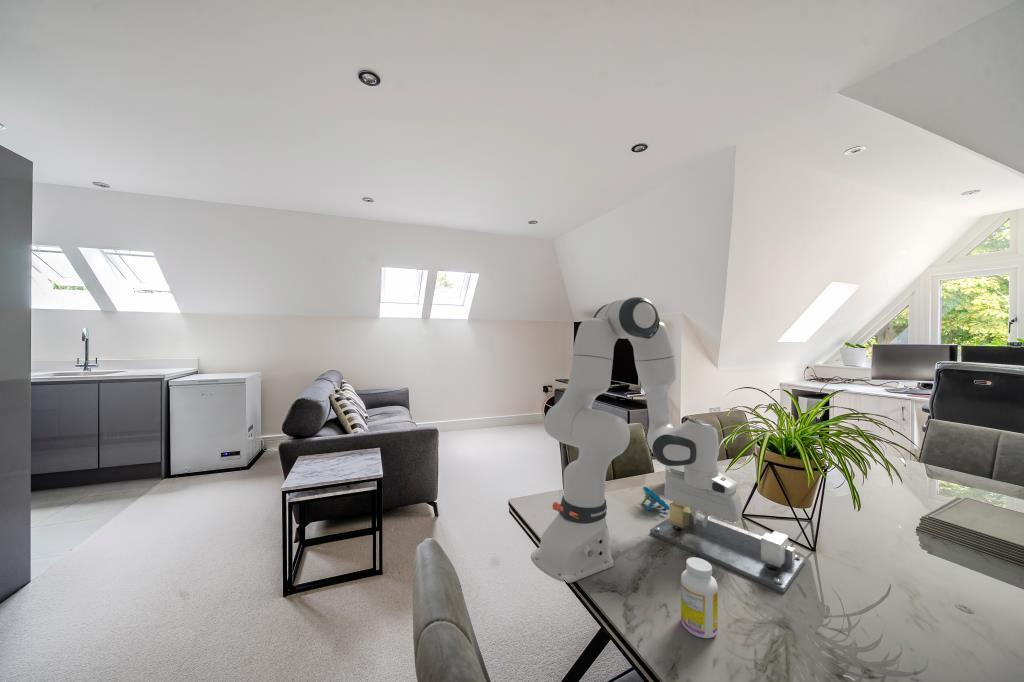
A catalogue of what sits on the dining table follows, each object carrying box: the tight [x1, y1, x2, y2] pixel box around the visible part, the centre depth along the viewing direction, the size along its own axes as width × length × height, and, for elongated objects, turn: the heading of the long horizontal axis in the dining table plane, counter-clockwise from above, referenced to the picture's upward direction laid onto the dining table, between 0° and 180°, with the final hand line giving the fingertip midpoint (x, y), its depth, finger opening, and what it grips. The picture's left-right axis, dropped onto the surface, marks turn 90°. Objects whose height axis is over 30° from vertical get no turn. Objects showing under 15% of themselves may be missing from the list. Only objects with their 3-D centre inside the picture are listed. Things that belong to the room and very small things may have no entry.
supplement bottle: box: [680, 556, 719, 639], centre depth 75 cm, size 7×7×13 cm
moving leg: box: [668, 501, 690, 529], centre depth 112 cm, size 8×4×7 cm, turn 130°
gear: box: [641, 486, 669, 511], centre depth 126 cm, size 11×6×10 cm
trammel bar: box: [687, 512, 796, 569], centre depth 103 cm, size 8×31×7 cm, turn 40°
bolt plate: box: [649, 517, 806, 594], centre depth 103 cm, size 18×33×2 cm, turn 40°
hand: (700, 524), depth 106 cm, fingers closed
